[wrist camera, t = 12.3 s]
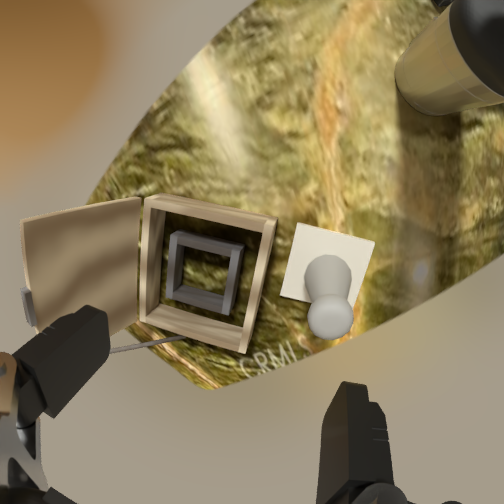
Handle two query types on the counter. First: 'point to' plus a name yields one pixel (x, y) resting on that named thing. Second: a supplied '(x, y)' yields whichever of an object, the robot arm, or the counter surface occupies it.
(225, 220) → the case
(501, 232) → the counter surface
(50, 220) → the lid
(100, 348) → the robot arm
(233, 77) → the counter surface
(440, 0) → the disk drive
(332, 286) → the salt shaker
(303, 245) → the tile
